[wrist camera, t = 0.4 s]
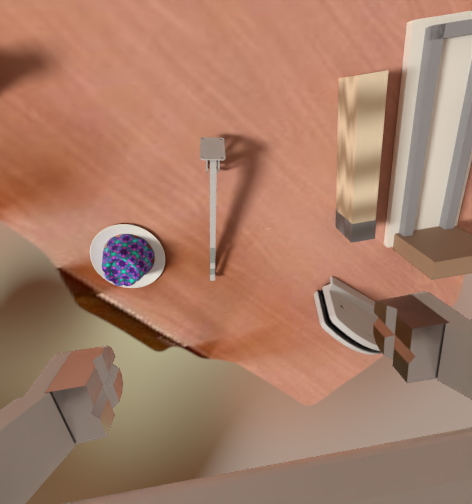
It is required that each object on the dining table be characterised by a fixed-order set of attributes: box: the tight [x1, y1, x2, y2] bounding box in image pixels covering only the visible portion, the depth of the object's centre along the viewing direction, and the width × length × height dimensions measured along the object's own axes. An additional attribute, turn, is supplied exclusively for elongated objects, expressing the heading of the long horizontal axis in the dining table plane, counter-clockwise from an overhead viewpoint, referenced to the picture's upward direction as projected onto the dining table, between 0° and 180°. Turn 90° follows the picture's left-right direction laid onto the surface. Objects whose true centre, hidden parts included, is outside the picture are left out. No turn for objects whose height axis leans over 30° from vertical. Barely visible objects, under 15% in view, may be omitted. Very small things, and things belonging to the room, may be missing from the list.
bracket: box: [200, 137, 226, 281], centre depth 45 cm, size 3×21×10 cm, turn 178°
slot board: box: [384, 11, 472, 280], centre depth 40 cm, size 32×12×11 cm, turn 8°
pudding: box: [90, 224, 165, 288], centre depth 47 cm, size 12×12×5 cm
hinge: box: [314, 276, 381, 355], centre depth 55 cm, size 17×5×10 cm, turn 56°
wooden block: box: [336, 70, 389, 242], centre depth 42 cm, size 22×4×6 cm, turn 8°
